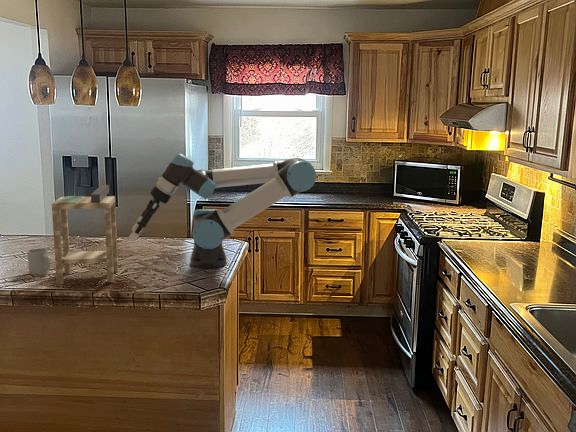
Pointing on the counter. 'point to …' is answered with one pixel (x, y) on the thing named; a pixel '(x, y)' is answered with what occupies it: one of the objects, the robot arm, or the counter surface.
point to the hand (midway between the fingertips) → (132, 235)
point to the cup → (38, 261)
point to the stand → (84, 256)
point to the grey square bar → (99, 194)
